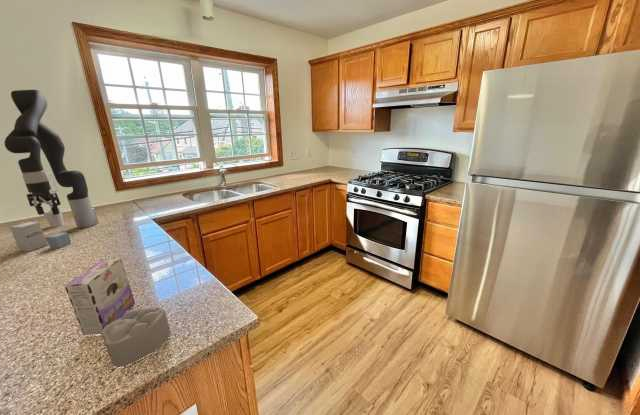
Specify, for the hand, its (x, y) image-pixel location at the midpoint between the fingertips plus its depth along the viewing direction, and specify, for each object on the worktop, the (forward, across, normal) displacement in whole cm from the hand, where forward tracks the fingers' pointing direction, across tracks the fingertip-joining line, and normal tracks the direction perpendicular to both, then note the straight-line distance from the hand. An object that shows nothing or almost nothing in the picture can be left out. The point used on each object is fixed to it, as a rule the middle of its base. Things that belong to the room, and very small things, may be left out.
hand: (49, 214), depth 126 cm
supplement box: (+17, +12, +3) cm, 21 cm away
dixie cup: (+17, +35, -26) cm, 47 cm away
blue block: (+17, 0, 0) cm, 17 cm away
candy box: (+17, -75, +46) cm, 90 cm away
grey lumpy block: (+17, -92, +54) cm, 108 cm away
